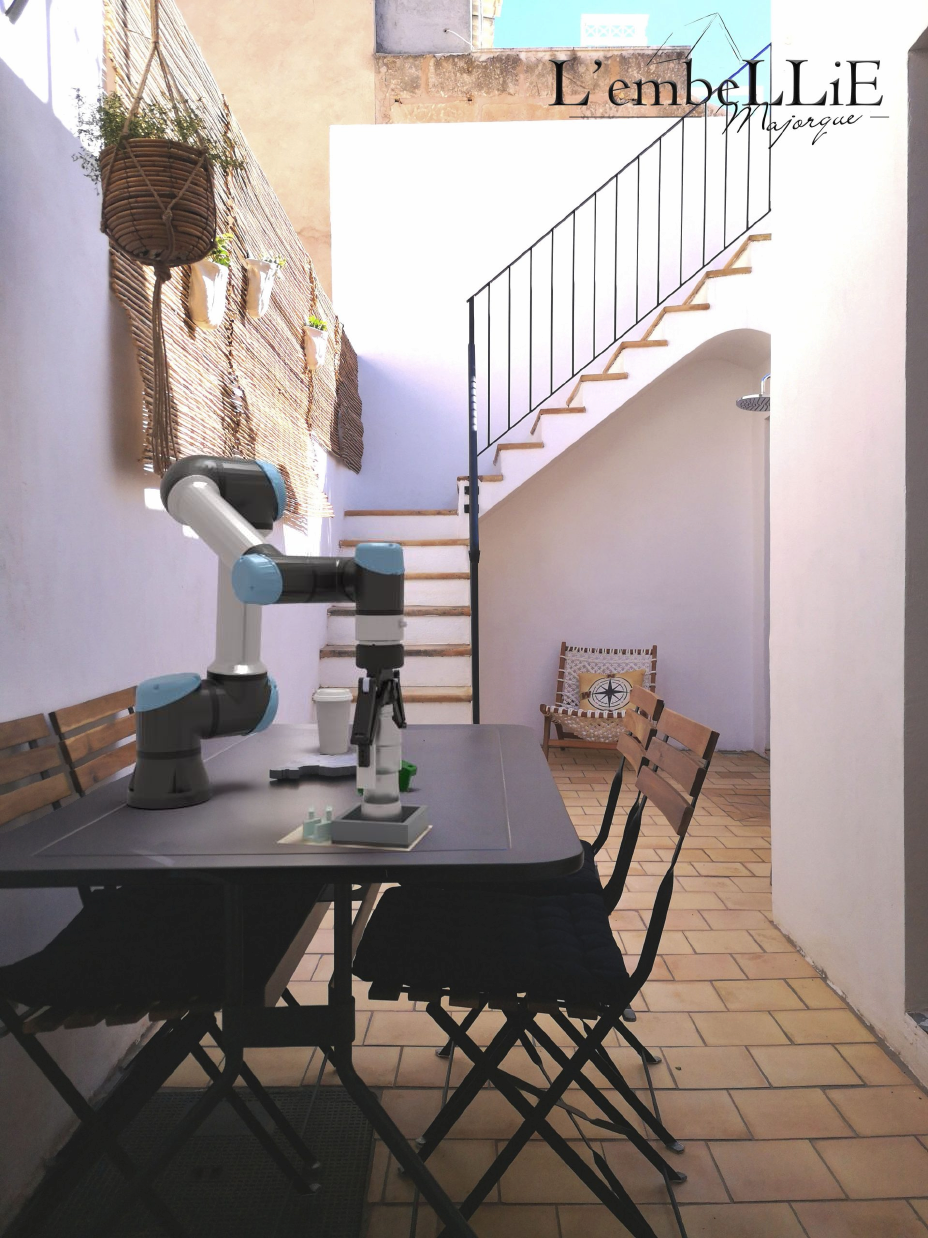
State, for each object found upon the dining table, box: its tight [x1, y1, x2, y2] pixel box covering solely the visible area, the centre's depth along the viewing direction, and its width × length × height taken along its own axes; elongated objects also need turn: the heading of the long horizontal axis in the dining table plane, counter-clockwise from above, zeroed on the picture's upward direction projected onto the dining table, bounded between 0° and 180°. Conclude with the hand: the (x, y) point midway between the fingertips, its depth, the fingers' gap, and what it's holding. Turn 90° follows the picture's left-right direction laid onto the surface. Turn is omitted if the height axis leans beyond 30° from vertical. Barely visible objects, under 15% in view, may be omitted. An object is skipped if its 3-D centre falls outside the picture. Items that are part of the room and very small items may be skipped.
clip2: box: [302, 817, 332, 844], centre depth 136 cm, size 4×3×3 cm
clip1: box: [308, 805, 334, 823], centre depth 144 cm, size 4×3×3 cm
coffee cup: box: [313, 687, 354, 755], centre depth 214 cm, size 10×10×15 cm
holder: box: [331, 801, 429, 848], centre depth 138 cm, size 12×12×4 cm
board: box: [276, 824, 433, 852], centre depth 139 cm, size 21×14×1 cm, turn 78°
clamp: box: [357, 758, 418, 795], centre depth 172 cm, size 12×6×9 cm, turn 142°
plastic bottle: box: [360, 703, 403, 823], centre depth 138 cm, size 6×7×20 cm
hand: (380, 778), depth 138 cm, fingers open, 13 cm apart
